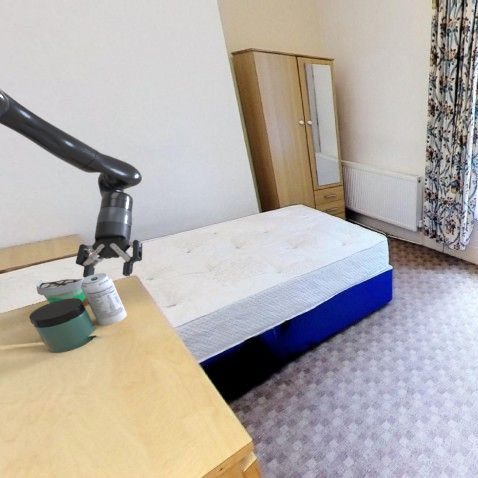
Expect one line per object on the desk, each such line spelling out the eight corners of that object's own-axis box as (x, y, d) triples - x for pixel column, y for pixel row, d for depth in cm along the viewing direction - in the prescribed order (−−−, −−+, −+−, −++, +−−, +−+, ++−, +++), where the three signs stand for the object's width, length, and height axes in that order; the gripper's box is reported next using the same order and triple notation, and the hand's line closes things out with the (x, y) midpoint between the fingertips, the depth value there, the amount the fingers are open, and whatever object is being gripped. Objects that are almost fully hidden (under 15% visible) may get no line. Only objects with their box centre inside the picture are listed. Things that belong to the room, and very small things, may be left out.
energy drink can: (127, 313, 95) (108, 269, 89) (130, 323, 91) (110, 278, 85) (99, 322, 91) (77, 277, 85) (101, 333, 87) (78, 286, 81)
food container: (38, 321, 91) (20, 292, 87) (54, 308, 96) (38, 280, 92) (91, 314, 94) (77, 286, 90) (104, 302, 99) (91, 275, 95)
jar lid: (21, 329, 76) (17, 322, 75) (52, 306, 84) (49, 300, 83) (67, 324, 78) (64, 317, 77) (93, 302, 86) (90, 296, 85)
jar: (37, 355, 80) (18, 324, 76) (66, 330, 88) (50, 301, 84) (81, 350, 81) (65, 320, 78) (105, 326, 90) (92, 298, 86)
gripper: (74, 222, 90) (65, 277, 85) (136, 218, 94) (130, 270, 89) (93, 232, 97) (85, 284, 92) (149, 228, 101) (145, 277, 96)
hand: (107, 277), depth 90 cm, fingers open, 8 cm apart
